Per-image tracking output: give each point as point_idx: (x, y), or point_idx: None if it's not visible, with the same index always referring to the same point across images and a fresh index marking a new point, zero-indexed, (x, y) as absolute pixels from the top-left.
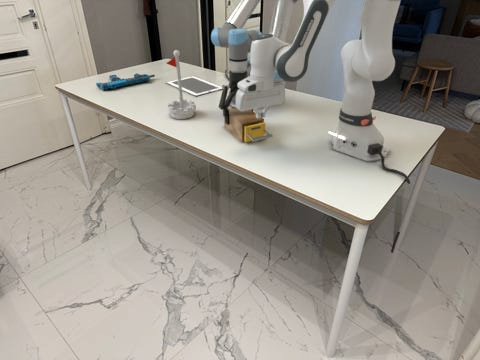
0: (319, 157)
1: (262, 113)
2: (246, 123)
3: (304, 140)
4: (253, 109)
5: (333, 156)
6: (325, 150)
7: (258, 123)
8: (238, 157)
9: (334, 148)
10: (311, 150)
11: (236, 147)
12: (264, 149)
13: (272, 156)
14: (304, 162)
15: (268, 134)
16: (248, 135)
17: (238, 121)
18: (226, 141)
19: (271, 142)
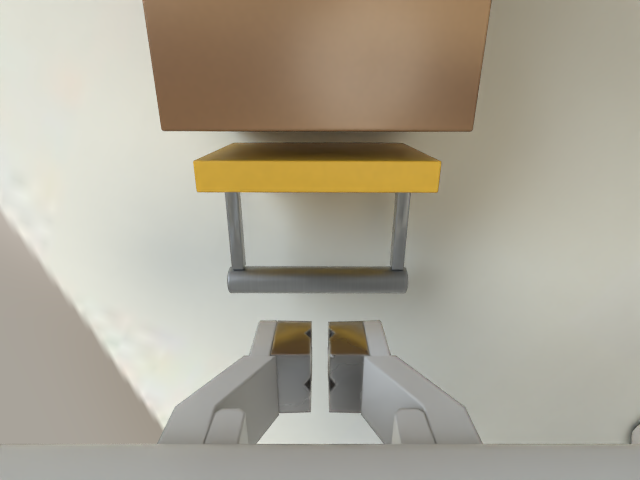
0: None
1: (335, 404)
2: (226, 130)
3: (606, 290)
4: (179, 405)
5: None
6: (591, 418)
7: None
8: (131, 290)
9: (637, 440)
10: (534, 392)
11: (159, 173)
12: None
13: (314, 358)
14: None
15: (377, 281)
16: (227, 211)
17: (149, 28)
18: (115, 41)
19: (411, 219)
